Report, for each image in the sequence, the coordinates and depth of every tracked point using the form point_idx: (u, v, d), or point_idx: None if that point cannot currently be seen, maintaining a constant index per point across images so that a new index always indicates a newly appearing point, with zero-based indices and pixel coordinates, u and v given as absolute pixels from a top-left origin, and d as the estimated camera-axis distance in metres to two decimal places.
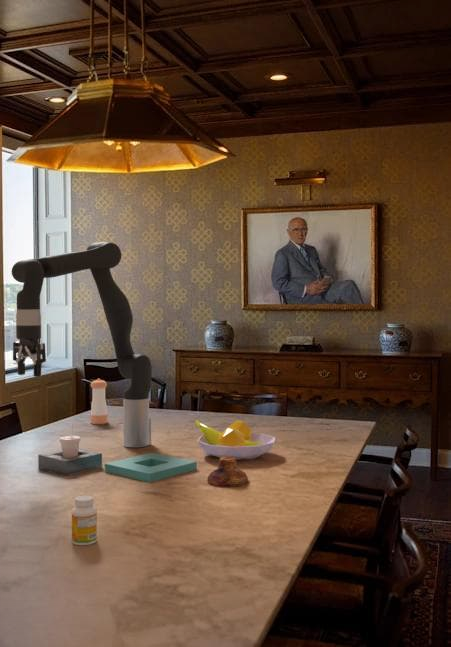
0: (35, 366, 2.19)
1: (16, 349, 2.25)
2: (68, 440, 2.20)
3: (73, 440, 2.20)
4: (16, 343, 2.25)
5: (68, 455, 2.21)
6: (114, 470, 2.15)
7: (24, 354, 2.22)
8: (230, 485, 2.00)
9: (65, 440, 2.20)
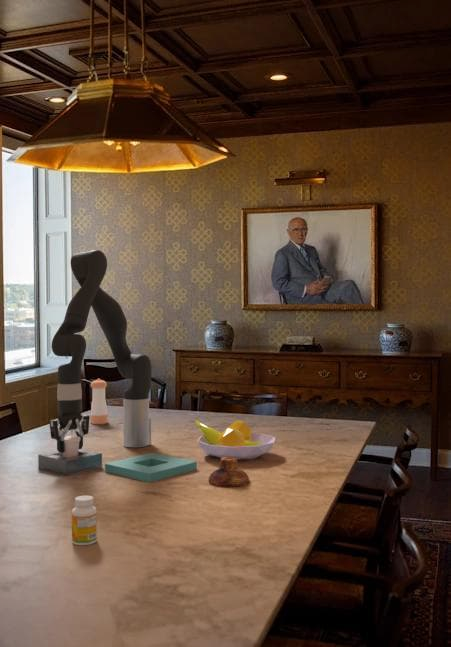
0: (81, 438, 2.25)
1: None
2: (68, 440, 2.20)
3: (73, 440, 2.20)
4: None
5: (68, 455, 2.21)
6: (114, 470, 2.15)
7: (70, 428, 2.22)
8: (231, 485, 2.00)
9: (65, 440, 2.20)
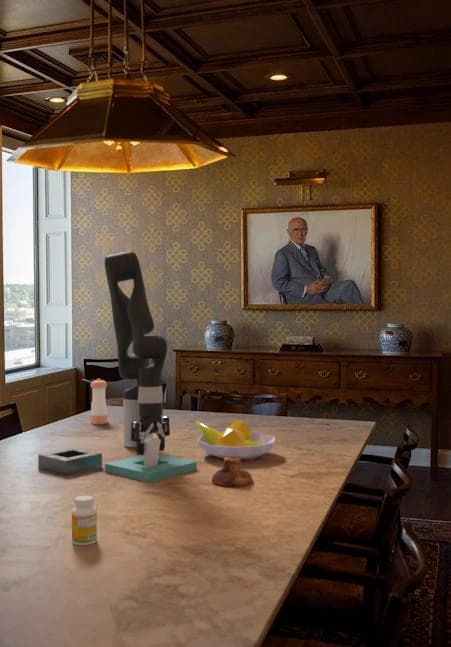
0: (163, 440, 2.22)
1: None
2: (150, 442, 2.16)
3: (154, 442, 2.17)
4: None
5: (150, 457, 2.17)
6: (114, 470, 2.15)
7: (151, 432, 2.18)
8: (235, 485, 2.00)
9: (146, 442, 2.16)
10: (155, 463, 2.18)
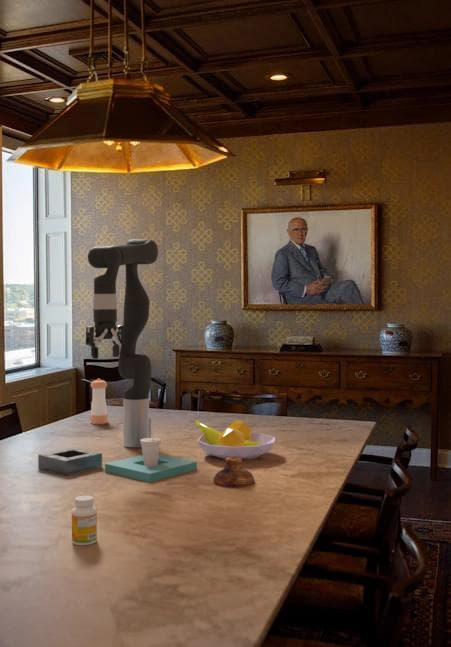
0: (118, 347, 2.34)
1: None
2: (150, 442, 2.16)
3: (154, 442, 2.17)
4: None
5: (150, 457, 2.17)
6: (114, 470, 2.15)
7: (105, 337, 2.29)
8: (237, 485, 2.00)
9: (146, 442, 2.16)
10: (155, 463, 2.18)
